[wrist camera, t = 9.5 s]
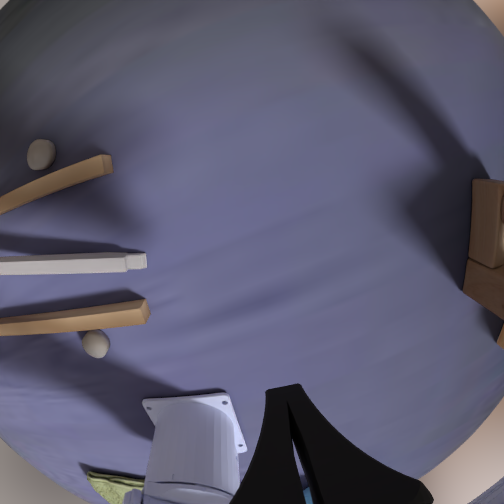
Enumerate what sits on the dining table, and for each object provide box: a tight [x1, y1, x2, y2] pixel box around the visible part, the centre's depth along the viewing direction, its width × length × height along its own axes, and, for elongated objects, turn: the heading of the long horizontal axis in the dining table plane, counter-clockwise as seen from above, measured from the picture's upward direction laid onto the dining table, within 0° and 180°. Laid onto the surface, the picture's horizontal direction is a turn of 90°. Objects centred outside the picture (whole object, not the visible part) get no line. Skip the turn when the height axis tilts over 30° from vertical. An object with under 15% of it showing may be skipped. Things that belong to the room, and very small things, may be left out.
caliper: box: [0, 252, 147, 275], centre depth 15 cm, size 20×1×6 cm, turn 88°
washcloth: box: [87, 471, 145, 504], centre depth 28 cm, size 13×18×3 cm
